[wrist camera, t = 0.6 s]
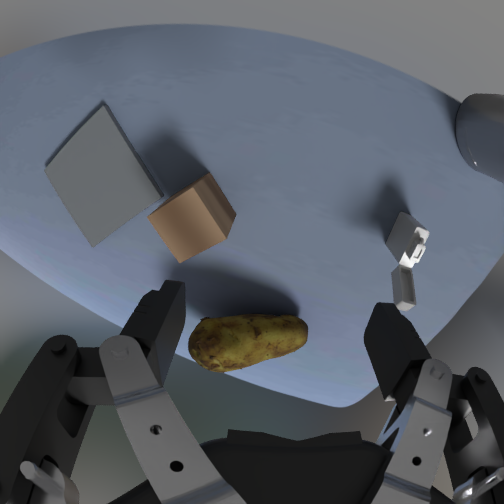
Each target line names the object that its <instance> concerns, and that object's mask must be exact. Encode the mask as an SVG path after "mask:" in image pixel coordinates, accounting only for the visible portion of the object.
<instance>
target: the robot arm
mask: <svg viewBox="0 0 504 504" xmlns="http://www.w3.org/2000/svg"><path fill="white" fill-rule="evenodd" d="M456 138H457V142H458V146H459V149H460V152H461V154H462V156H463V157H464V159H465V161H466V162H467V163H468V164H469V166H471V167H472V168H473V169H474V170H476V171H479V172H481V173H483V174H485V175H488V176H490V177H492V178H494V179H496V180H498V181H500V182H502V183H504V95H499V94H473V95H470V96H468V97H467V98H466V99H465V100H464V101H463V102H462V104H461V106H460V108H459V110H458V113H457V118H456ZM185 317H186V306H185V283H184V282H180V281H172V280H165V282H164V283H163V285H162V287H161V289H160V290H159V291H157V290H151V291H150V292H148V293H147V294H145V295H144V296H143V297H142V299H141V300H140V302H139V303H138V306H137V307H136V308H135V310H134V312H133V313H132V315H131V316H130V318H129V320H128V321H127V323H126V325H125V326H124V328H123V330H122V331H121V333H120V335H117V336H113V337H110V338H108V339H107V340H105V341H104V342H103V343H102V344H101V346H100V347H95V348H90V347H85V348H83V347H78V346H77V343H76V341H75V340H74V339H73V338H72V337H70V336H68V335H57V336H53V337H51V338H49V339H48V340H47V341H46V342H45V343H44V344H43V346H42V347H41V349H40V350H39V352H38V353H37V354H36V356H35V357H34V359H33V361H32V362H31V363H30V365H29V367H28V368H27V370H26V371H25V373H24V374H23V376H22V378H21V379H20V381H19V383H18V384H17V386H16V388H15V389H14V391H13V393H12V394H11V396H10V398H9V400H8V402H7V403H6V405H5V407H4V408H3V411H2V412H1V414H0V504H79V491H78V488H77V486H76V484H75V483H74V482H73V481H72V480H71V479H70V477H71V474H72V470H73V467H74V464H75V461H76V458H77V455H78V452H79V449H80V446H81V444H82V441H83V438H84V435H85V432H86V430H87V427H88V424H89V422H90V419H91V417H92V414H93V411H94V409H95V407H96V405H115V406H116V409H117V412H118V414H119V417H120V419H121V422H122V424H123V427H124V429H125V432H126V434H127V436H128V439H129V441H130V443H131V445H132V447H133V450H134V452H135V454H136V456H137V458H138V460H139V462H140V464H141V466H142V468H143V470H144V472H145V474H146V476H147V478H148V479H147V480H146V481H144V482H143V483H141V484H139V485H138V486H136V487H135V488H133V489H132V490H130V491H128V492H127V493H125V494H123V495H122V496H120V497H118V498H117V499H115V500H113V501H112V502H110V503H108V504H504V402H503V400H502V398H501V396H500V394H499V392H498V390H497V388H496V387H495V385H494V383H493V381H492V379H491V377H490V376H489V374H488V373H487V372H486V371H484V370H483V369H481V368H478V367H472V368H470V369H469V370H468V372H467V373H466V375H465V376H461V375H455V374H452V371H451V369H450V368H449V367H448V365H447V364H445V363H444V362H442V361H440V360H438V359H432V358H431V356H430V354H429V352H428V350H427V349H426V347H425V345H424V343H423V342H422V340H421V338H419V335H418V333H417V332H416V330H415V328H414V326H413V325H412V323H411V322H410V321H409V320H408V319H407V318H406V317H405V316H403V315H401V313H400V312H399V310H398V308H397V307H396V305H395V304H394V303H381V302H378V303H377V304H376V305H375V307H374V309H373V312H372V315H371V317H370V320H369V322H368V325H367V327H366V329H365V333H364V344H365V347H366V350H367V352H368V355H369V358H370V360H371V363H372V366H373V369H374V371H375V374H376V377H377V380H378V383H379V386H380V389H381V391H382V394H383V398H384V401H391V400H396V405H395V406H394V407H393V409H392V411H391V414H390V416H389V418H388V420H387V422H386V424H385V426H384V428H383V430H382V432H381V434H380V436H379V438H378V440H377V441H376V443H373V442H369V441H365V440H362V438H361V434H360V431H356V432H342V433H329V434H325V435H322V436H318V437H314V438H310V439H306V440H301V441H295V440H291V439H286V438H282V437H278V436H274V435H270V434H267V433H263V432H251V431H240V430H230V429H228V435H227V438H220V439H215V440H210V441H207V442H204V443H201V444H198V443H197V441H196V439H195V438H194V436H193V435H192V433H191V432H190V430H189V428H188V427H187V425H186V424H185V422H184V420H183V419H182V417H181V415H180V414H179V412H178V411H177V409H176V407H175V405H174V403H173V402H172V400H171V398H170V396H169V395H168V393H167V391H166V390H165V388H164V387H163V385H164V382H165V379H166V376H167V373H168V370H169V367H170V364H171V362H172V359H173V356H174V353H175V350H176V347H177V345H178V342H179V339H180V336H181V333H182V331H183V328H184V324H185ZM471 412H473V414H474V417H475V419H476V421H477V424H478V428H479V429H478V434H477V436H476V437H475V438H474V439H473V438H472V436H471V433H470V431H469V427H468V425H467V422H466V420H465V418H466V417H467V416H468V415H469V414H470V413H471ZM443 452H444V455H445V459H446V463H447V466H448V470H449V474H450V478H451V482H452V487H453V491H454V494H453V499H452V500H451V499H449V498H448V497H447V496H445V495H444V494H443V493H441V492H440V491H439V490H437V489H436V488H435V487H433V486H432V483H433V481H434V478H435V475H436V472H437V469H438V466H439V463H440V460H441V456H442V453H443Z"/></svg>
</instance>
